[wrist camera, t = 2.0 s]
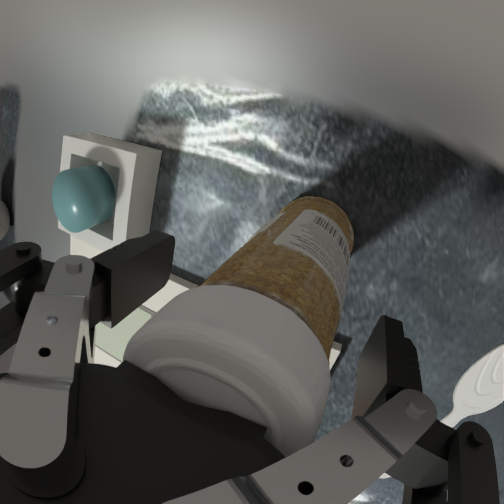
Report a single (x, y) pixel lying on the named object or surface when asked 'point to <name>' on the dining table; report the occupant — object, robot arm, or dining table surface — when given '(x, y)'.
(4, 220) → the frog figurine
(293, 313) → the sprinkles bottle
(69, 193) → the button
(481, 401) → the spoon
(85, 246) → the picture board
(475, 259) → the dining table surface
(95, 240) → the button housing
